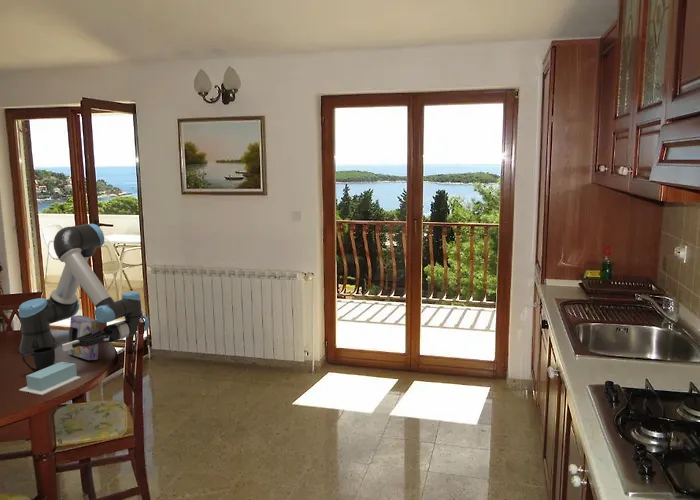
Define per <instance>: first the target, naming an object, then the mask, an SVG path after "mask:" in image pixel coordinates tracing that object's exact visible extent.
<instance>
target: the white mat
mask: <svg viewBox="0 0 700 500" xmlns="http://www.w3.org/2000/svg"><path fill="white" fill-rule="evenodd" d="M79 379H81V376H78V375H77V376H75V377H72V378H70V379H68V380H66V381H63V382H61V383H59V384H56V385H54V386H52V387H50V388H47V389H45V390H43V391H40V390H35V389H30V388H28V387H27V386H25V387H21V388H19V389H18V391H19V392H24V393H28V392H29V393H30V394H34V395H40V396H44V395H46V394H48V393H50V392H53V391H55V390H57V389H59V388H61V387H64V386H66V385H68V384H70V383H73V382H76V380H77V381H78V380H79Z"/></svg>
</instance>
